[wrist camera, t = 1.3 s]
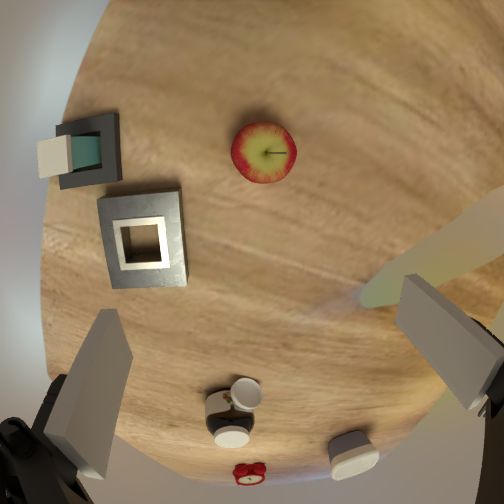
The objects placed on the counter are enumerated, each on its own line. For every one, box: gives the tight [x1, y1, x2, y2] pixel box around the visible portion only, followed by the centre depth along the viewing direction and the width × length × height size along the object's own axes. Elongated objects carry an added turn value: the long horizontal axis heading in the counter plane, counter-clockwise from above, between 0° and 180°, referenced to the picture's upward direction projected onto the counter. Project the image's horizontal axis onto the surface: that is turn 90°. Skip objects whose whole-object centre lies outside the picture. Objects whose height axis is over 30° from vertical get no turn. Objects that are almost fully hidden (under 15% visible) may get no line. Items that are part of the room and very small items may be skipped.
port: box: [97, 187, 189, 289], centre depth 41 cm, size 14×12×4 cm
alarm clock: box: [233, 463, 266, 486], centre depth 71 cm, size 10×6×15 cm
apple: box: [231, 122, 297, 184], centre depth 36 cm, size 8×8×10 cm
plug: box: [37, 135, 102, 178], centre depth 32 cm, size 4×4×12 cm
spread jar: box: [205, 378, 263, 448], centre depth 52 cm, size 12×11×12 cm
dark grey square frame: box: [56, 113, 122, 190], centre depth 36 cm, size 10×10×2 cm
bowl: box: [328, 430, 379, 480], centre depth 68 cm, size 15×15×11 cm
